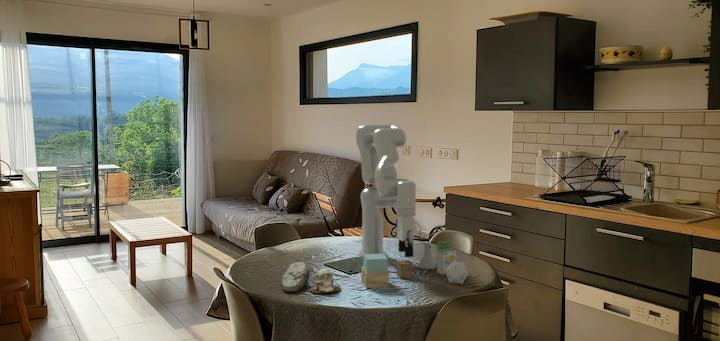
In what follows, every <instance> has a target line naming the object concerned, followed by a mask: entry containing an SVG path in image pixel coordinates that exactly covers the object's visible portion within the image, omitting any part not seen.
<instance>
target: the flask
mask: <svg viewBox="0 0 720 341" xmlns="http://www.w3.org/2000/svg"><path fill="white" fill-rule="evenodd" d="M423 246H424V251H423V255H422V258H421V260H420V262H419V265H418V267H419V268H420V269H422V270H434V269H437V265H436V264H435V261H434V257H433V255H432V244H430V243H425V244H424V245H423Z"/></svg>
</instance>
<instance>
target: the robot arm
mask: <svg viewBox="0 0 720 341" xmlns="http://www.w3.org/2000/svg"><path fill="white" fill-rule="evenodd" d="M355 141H356V145H357V147H358V151H359V154H360V165H361V166H360V167H361V177H362V180H363V182H364V183H365V185H375V186H371V187H365V188H364V189H362V191H361V192H360V203H361V210H362V211H361V212H362V214H361V215H362V218H361V219H362V221H361V222H362V230H361V232H362V234H361V235H362V236H361V237H362V240H361V242H362V244H361V246H362V248H361V250H362V251H359V252H358V256H359V257H360V258H363V254H384V255H385V256H386V257H387V253H386V251H384V216H383V215H382V212H381V211H380V210H379V209H381V208H382V209H385V208H394V207H396V217H397V222H396V239H398V252H399V253H400V252H403V253H404V257H405V258H412V257H414V240H415V224H414V223H415V221H414V219H415V218H414V217H416V194H417V193H416V191H417V190H416V186H417V185H416V183H415V181H412V180H410V179H408V178H398V173H397V169H396V166H394V165H395V164H397V163H398V162H399V160H400V154H399V153H398V149H397V148H402V147H404V146H405V145H406V142H407V136H406V134H405V131H404V130H403V129H402V128H401V127H398V126H397V125H394V124H387V123H386V124H377V123H376V124H375V123H374V124H362V125H360V126H358V127H357V130H356V134H355Z"/></svg>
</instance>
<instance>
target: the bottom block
mask: <svg viewBox="0 0 720 341" xmlns="http://www.w3.org/2000/svg"><path fill="white" fill-rule="evenodd" d="M360 280H361V283H362V284H363V286H364V288H365V287H366V288H365V289H371V288H372V289H374V288H375V289H376V288H389V287H390V271H389V270H388V272H366V270H365V269H364V267H363V266H361V279H360Z"/></svg>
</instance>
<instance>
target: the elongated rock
mask: <svg viewBox="0 0 720 341" xmlns="http://www.w3.org/2000/svg"><path fill="white" fill-rule="evenodd" d="M308 269H309V267H308V264H307V262H305V261H299V262H294V263H291V264H289V266H288V267H287V269H286V271H285V273H284V274H283V275H282V276H281V282H280V283H281V288H282V289H283V291H285V292H299V290H301V289H303V287H304V286H305V285H304V284H306V280H307V277H308V271H309V270H308Z"/></svg>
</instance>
